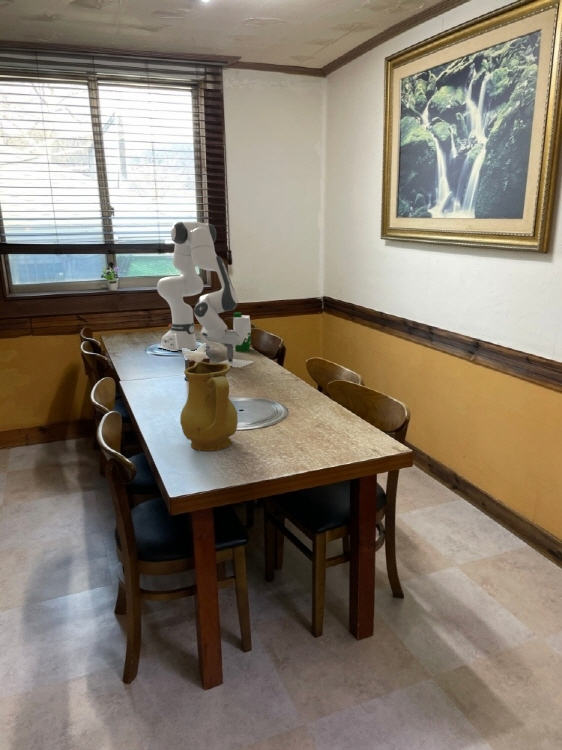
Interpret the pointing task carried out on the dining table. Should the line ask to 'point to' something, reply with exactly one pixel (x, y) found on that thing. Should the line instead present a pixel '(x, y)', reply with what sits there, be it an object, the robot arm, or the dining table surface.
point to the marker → (229, 353)
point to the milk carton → (242, 330)
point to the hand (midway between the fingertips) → (230, 346)
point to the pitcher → (208, 407)
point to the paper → (238, 363)
